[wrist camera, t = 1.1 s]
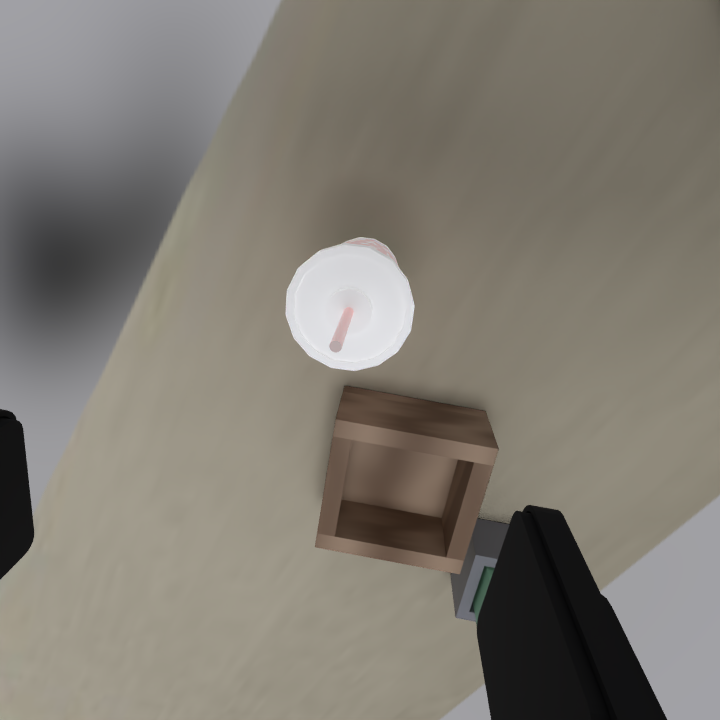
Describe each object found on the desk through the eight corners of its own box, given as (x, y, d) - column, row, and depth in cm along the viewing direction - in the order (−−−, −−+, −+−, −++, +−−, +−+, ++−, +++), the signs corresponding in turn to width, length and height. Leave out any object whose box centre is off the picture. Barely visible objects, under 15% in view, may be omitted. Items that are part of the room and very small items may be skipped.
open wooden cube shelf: (485, 411, 34) (498, 449, 29) (452, 524, 38) (459, 574, 33) (344, 385, 34) (335, 419, 30) (325, 500, 38) (314, 547, 33)
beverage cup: (368, 337, 33) (346, 447, 20) (297, 278, 32) (223, 352, 19) (431, 268, 31) (452, 339, 18) (357, 203, 30) (322, 227, 17)
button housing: (546, 531, 37) (562, 571, 34) (523, 589, 39) (536, 633, 36) (468, 516, 37) (475, 554, 34) (450, 575, 40) (455, 617, 36)
